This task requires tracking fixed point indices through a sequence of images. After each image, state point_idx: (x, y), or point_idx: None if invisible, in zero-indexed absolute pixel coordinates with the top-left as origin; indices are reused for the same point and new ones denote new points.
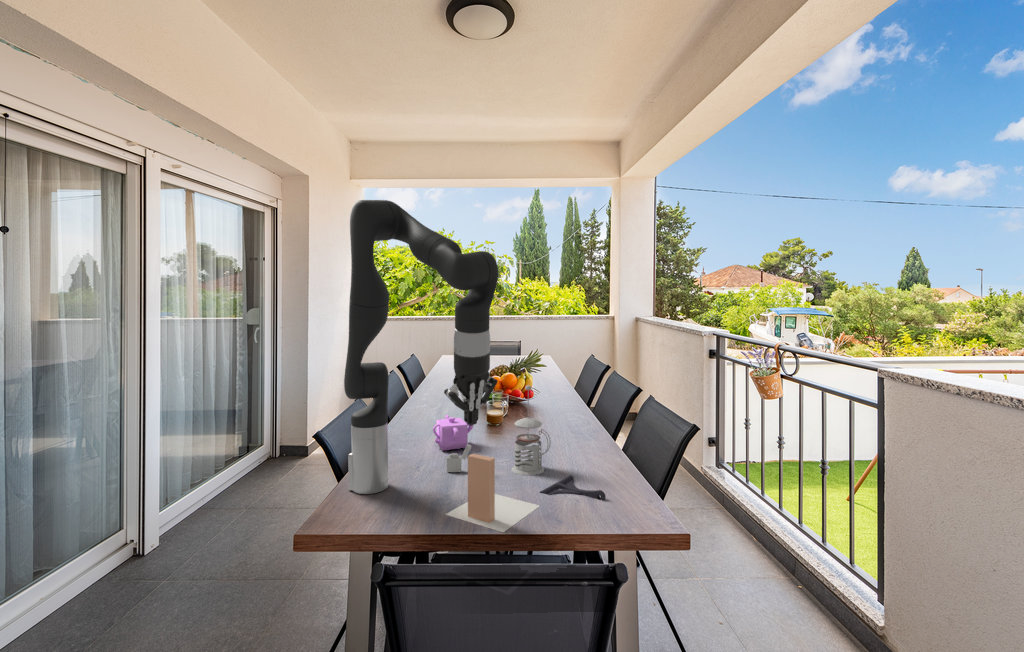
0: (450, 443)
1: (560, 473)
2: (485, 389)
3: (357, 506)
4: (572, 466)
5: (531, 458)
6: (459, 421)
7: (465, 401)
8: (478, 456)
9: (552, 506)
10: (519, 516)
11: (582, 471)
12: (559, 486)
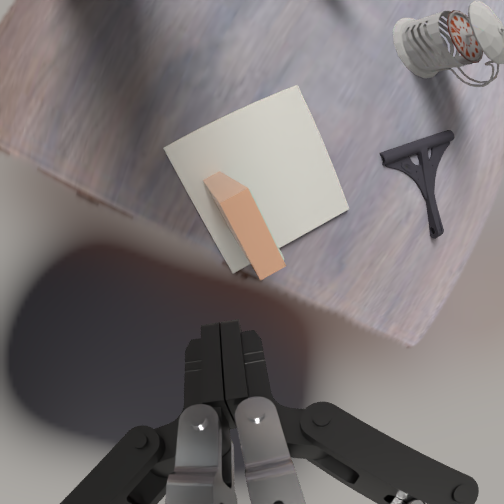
0: None
1: (449, 103)
2: (366, 488)
3: (36, 32)
4: (473, 95)
5: (436, 63)
6: None
7: (196, 453)
8: (249, 226)
9: (367, 212)
10: (292, 231)
11: (473, 123)
12: (420, 155)
